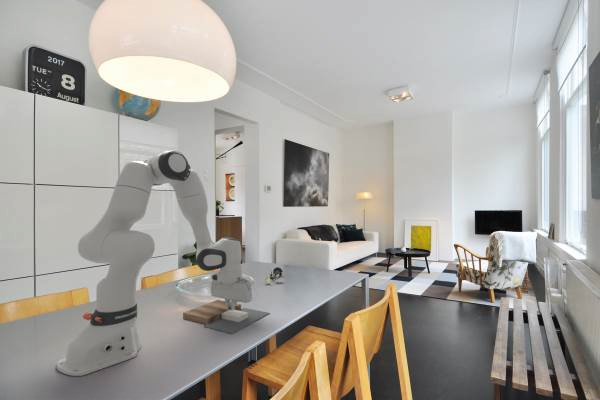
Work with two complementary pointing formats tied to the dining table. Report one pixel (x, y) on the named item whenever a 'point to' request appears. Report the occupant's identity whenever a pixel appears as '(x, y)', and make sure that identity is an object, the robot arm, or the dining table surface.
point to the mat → (234, 326)
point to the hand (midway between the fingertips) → (231, 309)
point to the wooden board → (208, 312)
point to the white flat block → (235, 315)
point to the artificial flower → (273, 276)
